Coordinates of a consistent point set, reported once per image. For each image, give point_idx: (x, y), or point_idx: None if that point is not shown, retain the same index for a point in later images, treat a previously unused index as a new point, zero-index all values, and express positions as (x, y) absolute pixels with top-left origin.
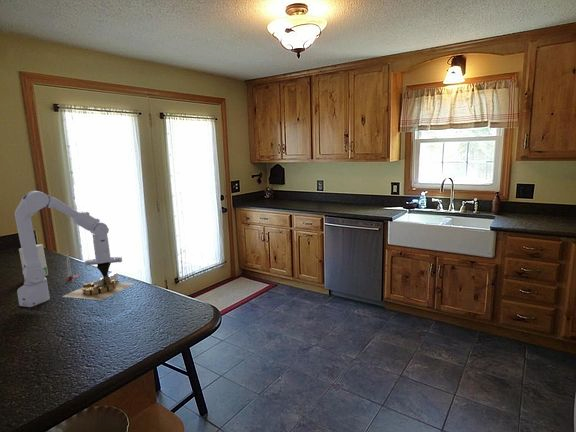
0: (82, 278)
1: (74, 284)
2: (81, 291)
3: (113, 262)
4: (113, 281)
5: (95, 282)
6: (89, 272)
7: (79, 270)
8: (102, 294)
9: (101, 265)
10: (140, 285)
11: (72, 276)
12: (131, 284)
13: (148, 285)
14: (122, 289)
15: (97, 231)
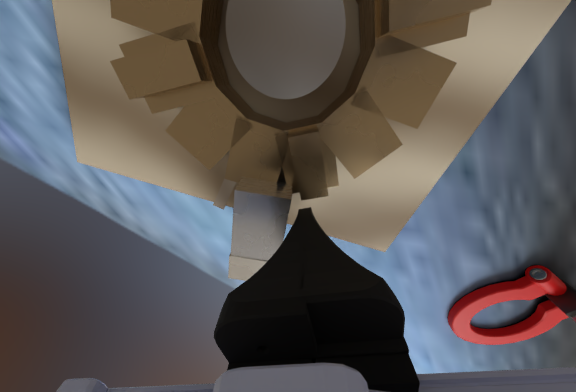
0: (485, 311)
1: (524, 244)
2: None
3: (175, 388)
4: (116, 60)
5: (319, 12)
6: (462, 361)
7: None
8: None
9: (334, 337)
10: (64, 160)
11: (566, 312)
12: (81, 140)
13: (5, 151)
14: (59, 15)
15: None
